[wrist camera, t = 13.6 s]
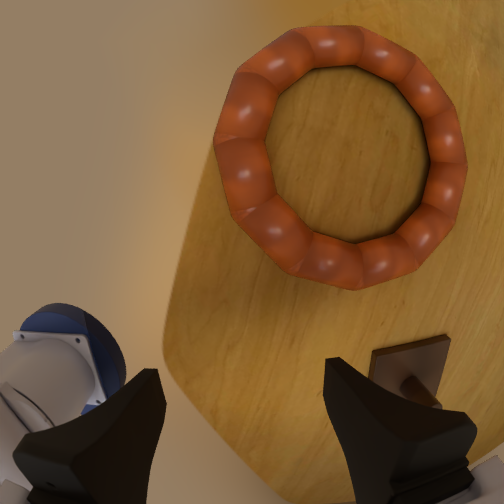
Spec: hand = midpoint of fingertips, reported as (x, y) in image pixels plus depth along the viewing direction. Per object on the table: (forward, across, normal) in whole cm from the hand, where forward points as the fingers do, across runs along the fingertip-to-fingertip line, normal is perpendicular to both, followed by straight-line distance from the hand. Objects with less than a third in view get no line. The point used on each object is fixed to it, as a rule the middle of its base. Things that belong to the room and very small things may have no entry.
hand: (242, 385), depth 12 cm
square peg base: (+10, -14, +10) cm, 20 cm away
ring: (+8, -8, -10) cm, 15 cm away
